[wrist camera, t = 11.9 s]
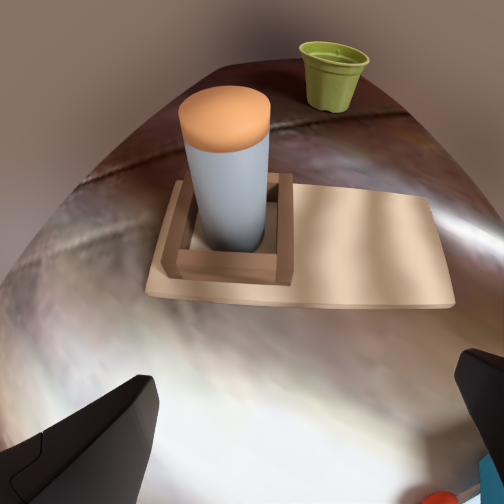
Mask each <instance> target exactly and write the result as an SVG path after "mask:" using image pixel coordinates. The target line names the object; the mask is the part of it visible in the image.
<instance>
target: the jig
mask: <svg viewBox="0 0 504 504" xmlns="http://www.w3.org/2000/svg"><path fill="white" fill-rule="evenodd" d="M145 292H146V294H147V295H148V296H149V297H158V298H168V299H179V300H190V301H201V302H214V303H227V304H242V305H258V306H277V307H299V308H330V309H434V308H450V307H452V306H453V305H454V304H455V299H454V294H453V289H452V284H451V280H450V276H449V271H448V267H447V263H446V260H445V256H444V252H443V249H442V245H441V242H440V238H439V235H438V232H437V228H436V225H435V222H434V219H433V216H432V213H431V210H430V207H429V204H428V202H427V199H426V198H425V197H418V196H411V195H404V194H396V193H388V192H379V191H371V190H361V189H352V188H341V187H330V186H318V185H304V184H293V174H284V173H268V174H267V196H266V217H265V235H264V239H263V242H262V244H261V245H260V246H259V248H258V249H257V250H255V251H254V252H253V253H240V252H222V251H213V250H211V248H210V247H209V246H208V244H207V242H206V239H205V235H204V231H203V226H202V222H201V218H200V213H199V209H198V205H197V200H196V196H195V191H194V187H193V182H192V177H191V173H190V171H186V173H185V177H184V180H176V183H175V186H174V189H173V192H172V195H171V198H170V201H169V204H168V208H167V211H166V214H165V218H164V221H163V224H162V228H161V231H160V235H159V238H158V242H157V245H156V249H155V253H154V256H153V260H152V264H151V268H150V272H149V276H148V280H147V284H146V288H145Z"/></svg>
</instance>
